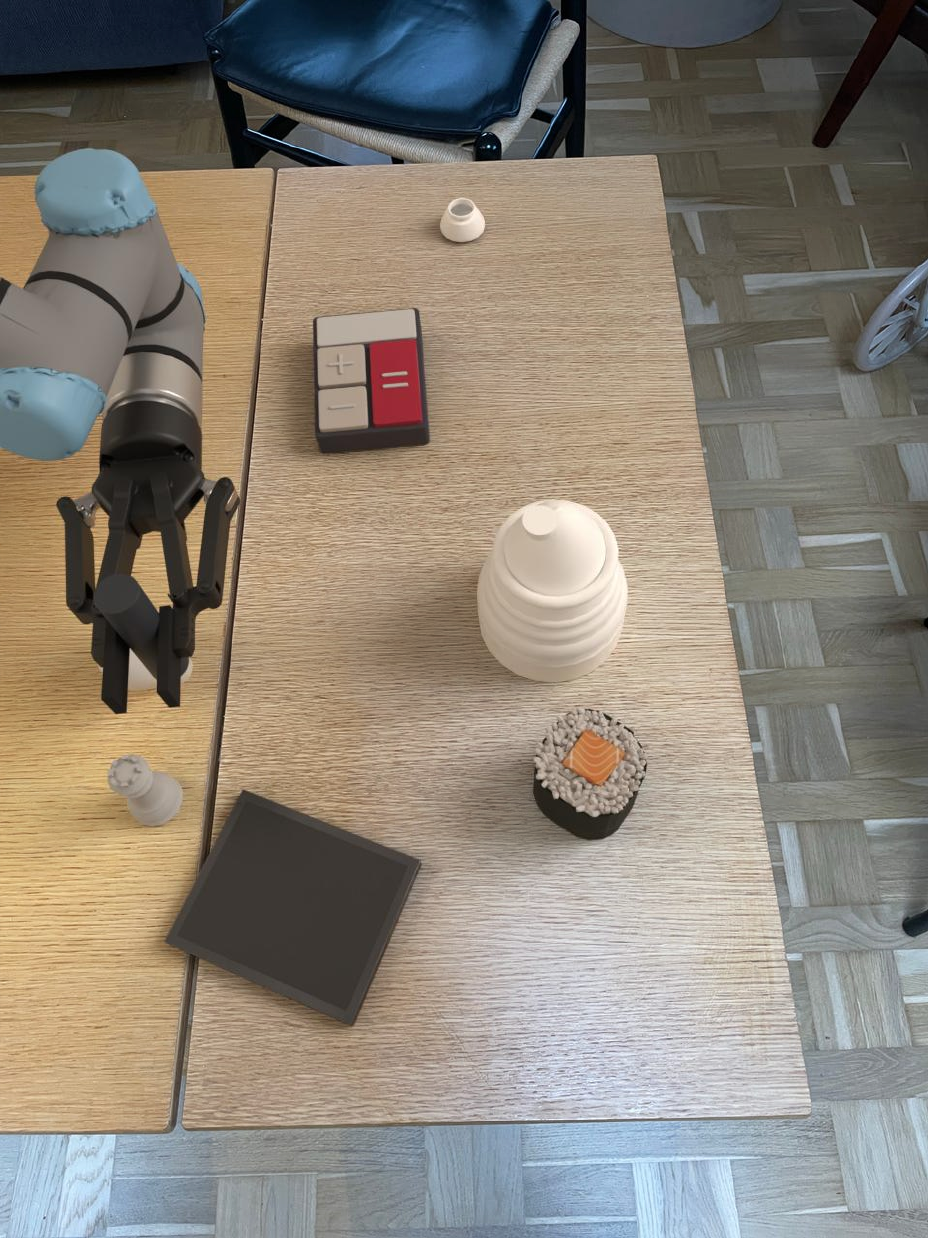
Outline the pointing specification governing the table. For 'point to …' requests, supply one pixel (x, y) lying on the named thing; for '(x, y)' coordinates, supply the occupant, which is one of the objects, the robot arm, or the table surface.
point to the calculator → (369, 381)
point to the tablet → (295, 906)
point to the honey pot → (552, 592)
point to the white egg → (138, 675)
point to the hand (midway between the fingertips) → (141, 702)
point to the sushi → (588, 773)
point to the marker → (134, 619)
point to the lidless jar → (462, 221)
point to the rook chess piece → (145, 790)
